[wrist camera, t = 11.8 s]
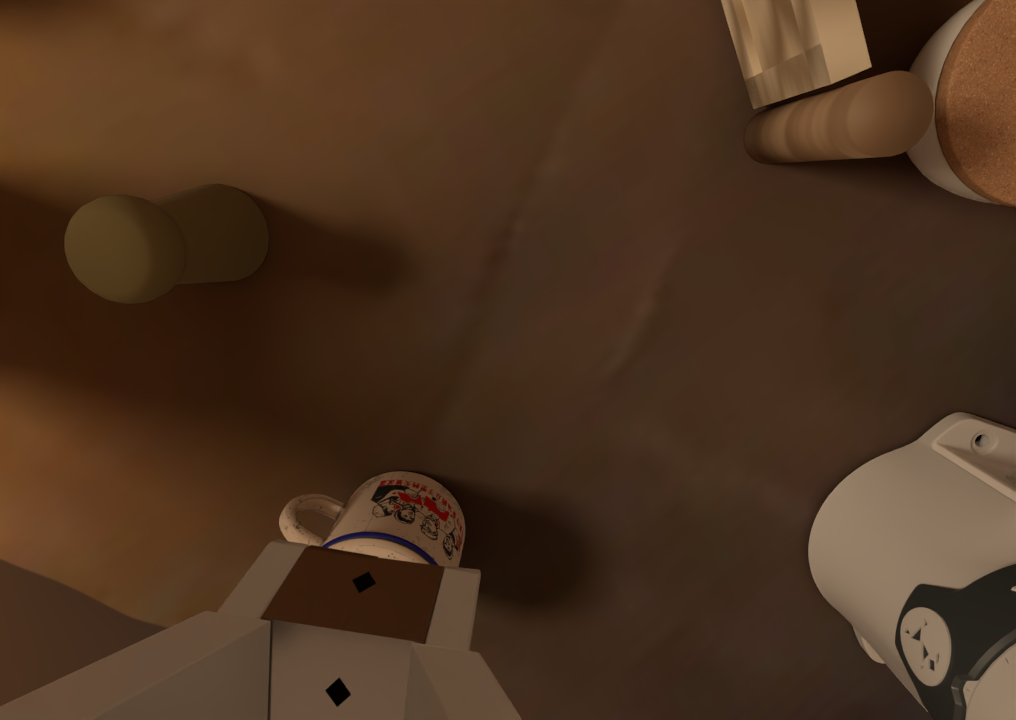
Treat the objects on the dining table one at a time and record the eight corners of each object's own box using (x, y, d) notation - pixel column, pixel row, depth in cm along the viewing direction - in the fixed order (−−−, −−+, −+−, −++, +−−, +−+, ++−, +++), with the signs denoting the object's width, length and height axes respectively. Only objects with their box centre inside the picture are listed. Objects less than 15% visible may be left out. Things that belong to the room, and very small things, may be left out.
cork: (155, 218, 39) (11, 233, 29) (227, 163, 38) (105, 158, 27) (216, 299, 40) (100, 342, 30) (288, 248, 39) (194, 275, 29)
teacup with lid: (494, 509, 44) (476, 624, 32) (427, 600, 46) (390, 735, 35) (345, 419, 42) (274, 506, 31) (285, 516, 45) (198, 630, 33)
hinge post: (803, 111, 35) (945, 76, 23) (789, 167, 36) (918, 161, 24) (750, 104, 35) (863, 65, 23) (738, 159, 36) (839, 150, 24)
